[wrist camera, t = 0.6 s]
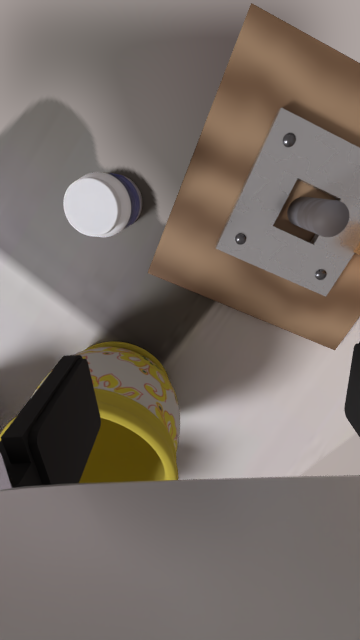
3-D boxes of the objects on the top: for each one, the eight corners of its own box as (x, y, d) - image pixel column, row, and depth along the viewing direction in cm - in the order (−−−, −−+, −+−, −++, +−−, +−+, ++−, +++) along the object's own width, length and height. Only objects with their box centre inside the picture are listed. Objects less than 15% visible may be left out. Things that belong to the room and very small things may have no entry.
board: (249, 10, 28) (272, -63, 19) (480, 137, 31) (584, 120, 23) (148, 270, 38) (136, 294, 30) (331, 345, 41) (365, 386, 33)
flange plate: (215, 246, 35) (219, 258, 29) (278, 110, 29) (297, 93, 24) (364, 312, 37) (394, 334, 32) (448, 197, 32) (501, 200, 26)
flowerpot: (71, 307, 40) (-2, 380, 25) (200, 347, 42) (204, 439, 27) (51, 410, 47) (-15, 514, 32) (162, 440, 49) (148, 554, 34)
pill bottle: (118, 161, 33) (90, 153, 24) (153, 206, 35) (139, 214, 26) (82, 197, 35) (42, 202, 26) (116, 238, 36) (91, 256, 27)
